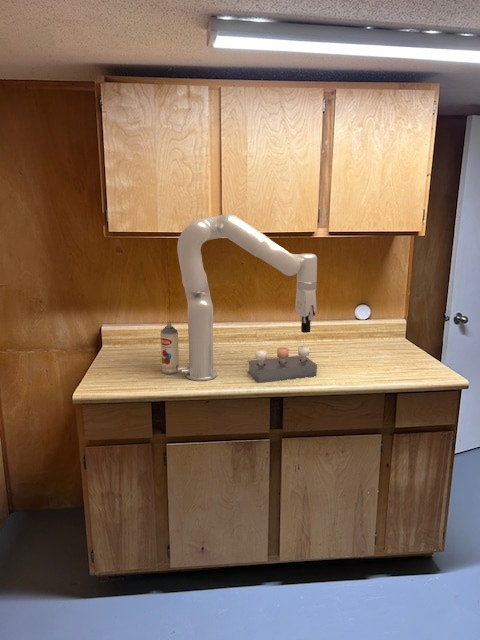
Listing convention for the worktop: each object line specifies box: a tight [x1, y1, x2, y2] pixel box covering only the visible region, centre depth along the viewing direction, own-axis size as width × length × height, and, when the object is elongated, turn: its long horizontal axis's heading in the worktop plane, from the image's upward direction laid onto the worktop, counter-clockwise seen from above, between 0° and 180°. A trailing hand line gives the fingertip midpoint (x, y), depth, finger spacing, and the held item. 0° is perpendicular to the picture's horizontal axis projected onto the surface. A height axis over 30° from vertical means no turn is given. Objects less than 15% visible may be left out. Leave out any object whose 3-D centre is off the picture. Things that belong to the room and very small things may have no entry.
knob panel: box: [248, 355, 318, 384], centre depth 183 cm, size 24×12×5 cm, turn 107°
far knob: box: [297, 345, 310, 362], centre depth 185 cm, size 4×4×8 cm
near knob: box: [254, 349, 268, 366], centre depth 180 cm, size 4×4×8 cm
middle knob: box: [276, 347, 289, 364], centre depth 182 cm, size 4×4×8 cm
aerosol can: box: [160, 322, 180, 375], centre depth 184 cm, size 7×7×20 cm
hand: (305, 332), depth 182 cm, fingers closed
